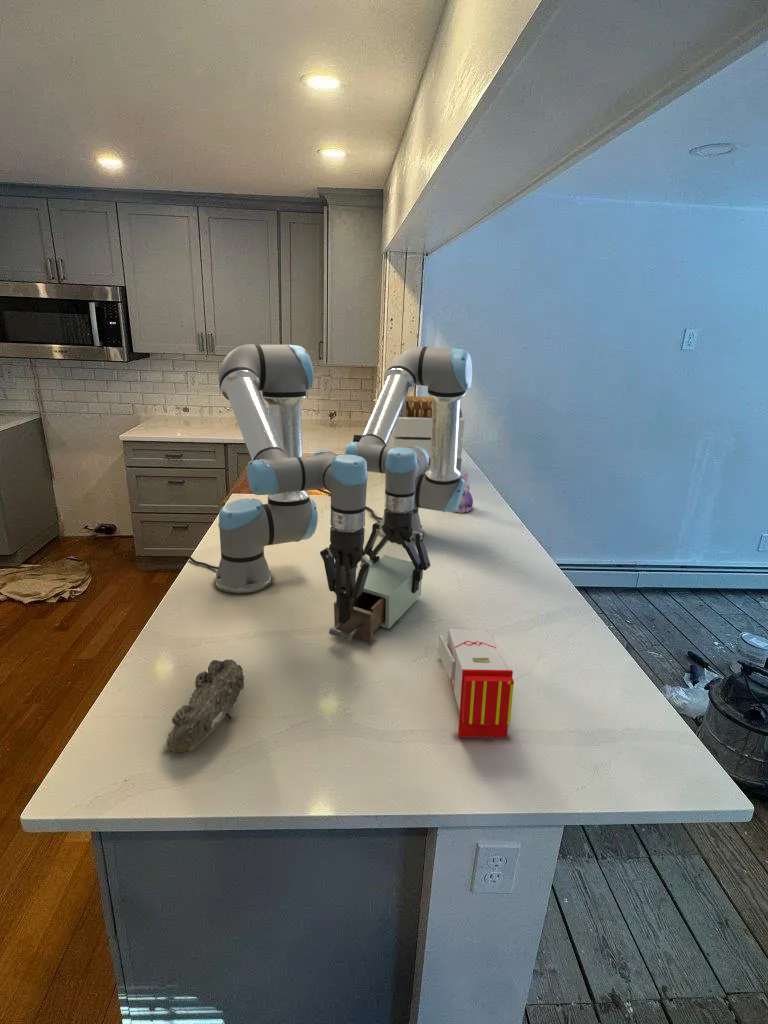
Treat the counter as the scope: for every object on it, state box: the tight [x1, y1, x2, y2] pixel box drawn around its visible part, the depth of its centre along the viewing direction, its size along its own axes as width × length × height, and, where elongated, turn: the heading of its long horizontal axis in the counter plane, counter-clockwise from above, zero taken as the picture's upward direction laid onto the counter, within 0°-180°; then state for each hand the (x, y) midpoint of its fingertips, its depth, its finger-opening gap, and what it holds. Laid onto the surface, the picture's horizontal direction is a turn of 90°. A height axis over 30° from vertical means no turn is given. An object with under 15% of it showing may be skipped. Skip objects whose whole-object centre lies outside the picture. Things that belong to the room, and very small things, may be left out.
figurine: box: [454, 472, 474, 514], centre depth 225 cm, size 9×10×15 cm
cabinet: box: [356, 554, 422, 630], centre depth 149 cm, size 18×11×10 cm, turn 151°
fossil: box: [166, 658, 245, 754], centre depth 106 cm, size 22×10×15 cm
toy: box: [437, 628, 515, 738], centre depth 117 cm, size 12×13×30 cm
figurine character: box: [352, 434, 363, 442], centre depth 311 cm, size 7×8×15 cm
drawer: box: [328, 592, 386, 642], centre depth 139 cm, size 23×10×8 cm, turn 151°
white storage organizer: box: [387, 395, 465, 475], centre depth 268 cm, size 34×33×41 cm
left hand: (344, 620), depth 132 cm, fingers closed
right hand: (394, 585), depth 153 cm, fingers closed on cabinet, 11 cm apart
